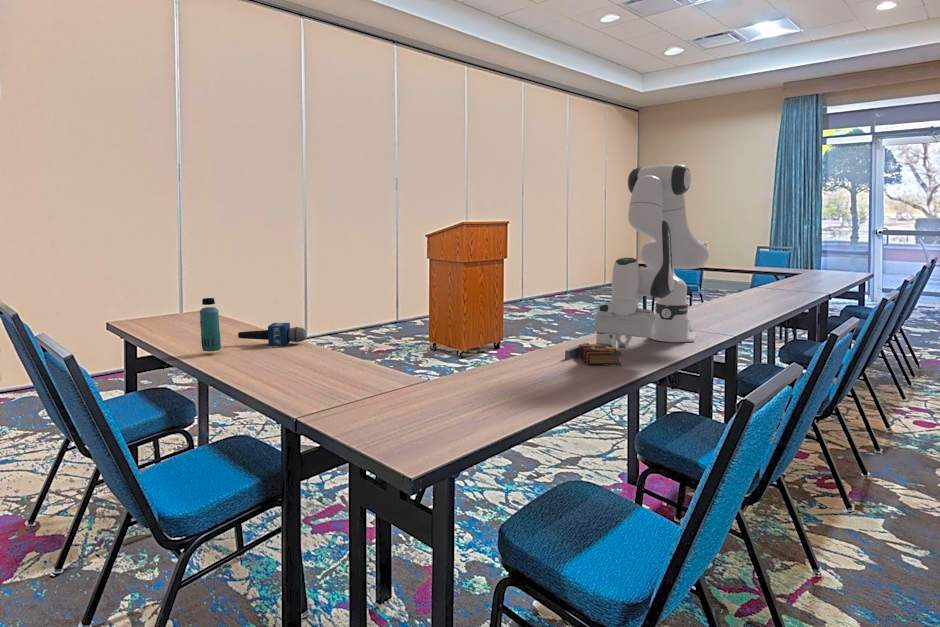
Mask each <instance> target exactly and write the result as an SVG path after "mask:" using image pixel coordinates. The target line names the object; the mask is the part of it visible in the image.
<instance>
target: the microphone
mask: <svg viewBox="0 0 940 627" xmlns="http://www.w3.org/2000/svg"><path fill="white" fill-rule="evenodd" d="M237 336H238V339H245V340H246V339H247V340H264V341H265V340H268V347H269V346H278V347H288V345H289V344H290V343H291V342H294V343H301V342H304V341H305V340H306V338H307V331H306V329H305V328H304V327H298V326H295V327H291V324H290V322H272V323H271V324H269V325H268V326H267V329H266V330H250V331H249V330H248V331H240V332H239V331H238V333H237ZM290 341H291V342H290ZM289 342H290V343H289ZM287 344H288V345H287Z"/></svg>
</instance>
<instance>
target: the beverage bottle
mask: <svg viewBox="0 0 940 627" xmlns="http://www.w3.org/2000/svg"><path fill="white" fill-rule="evenodd" d="M201 302H202V306H203V305H204V306H206V307H203V308H201V309H200V310H199V320H200V321H199V324H200V327H199V328H200V340H201V342H200V343H201V349H202V350H201V351H203V352H207V353H208V352H209V353H210V352H218V351H220V350H221V348H222V346H221V343H222V342H221V333H220V331H221V330H220V329H221V328H220V314H219V311H220V310H219V309H218V308H217V307H215V306H211V305H215V304H216V302H215V298H213V297H205V298H202V301H201ZM207 305H208V306H209V305H210V306H209V307H208V306H207Z"/></svg>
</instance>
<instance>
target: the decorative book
mask: <svg viewBox="0 0 940 627" xmlns="http://www.w3.org/2000/svg"><path fill="white" fill-rule="evenodd" d="M578 345H579V356H578V357H579V359H580V358H581V360H582V361H583V363H584V364H585V363H586V364H585V365H587V366H610V365H619V366H622V363H621V362H620V356H622V352H621V351H619V350H618V349H617V348H618V347H613V346H612V345H611V344H596V343H595V344H590V343H589V344H587V345H581V344H578Z"/></svg>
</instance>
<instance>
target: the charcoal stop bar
mask: <svg viewBox="0 0 940 627" xmlns="http://www.w3.org/2000/svg"><path fill="white" fill-rule="evenodd" d="M587 344H590V343H589V342H584V343H581V344H577V345H576V346H573V347H570V348H568V349H566V350H564V360H568V359H569V360H571V358H572V359H573V357H574V358H576V357H579V356H578V355H579V345H587Z"/></svg>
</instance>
